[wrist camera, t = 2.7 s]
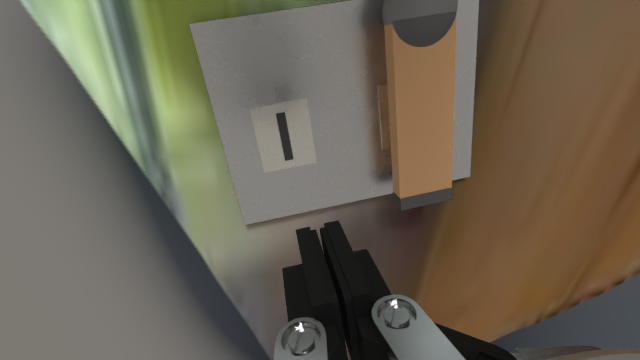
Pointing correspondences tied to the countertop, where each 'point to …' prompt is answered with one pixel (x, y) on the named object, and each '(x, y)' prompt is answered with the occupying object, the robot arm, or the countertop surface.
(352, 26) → the board
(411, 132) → the swing arm
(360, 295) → the robot arm
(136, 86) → the countertop surface
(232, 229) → the countertop surface
